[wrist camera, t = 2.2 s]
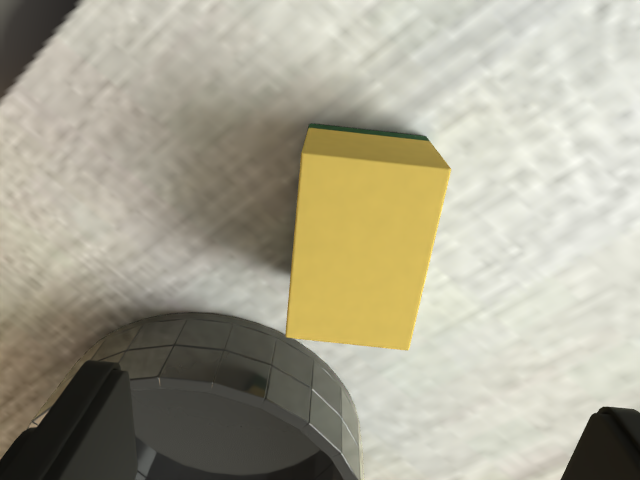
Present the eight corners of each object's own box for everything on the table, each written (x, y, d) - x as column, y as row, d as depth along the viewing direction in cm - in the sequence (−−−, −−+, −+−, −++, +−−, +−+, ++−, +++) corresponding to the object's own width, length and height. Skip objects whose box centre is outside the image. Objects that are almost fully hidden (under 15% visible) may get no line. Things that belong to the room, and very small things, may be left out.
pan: (43, 294, 22) (-25, 357, 18) (382, 330, 22) (392, 401, 18) (84, 513, 29) (42, 594, 25) (341, 539, 29) (341, 623, 25)
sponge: (309, 122, 18) (301, 151, 14) (426, 135, 18) (452, 168, 14) (295, 278, 21) (284, 338, 17) (395, 288, 21) (409, 351, 17)
